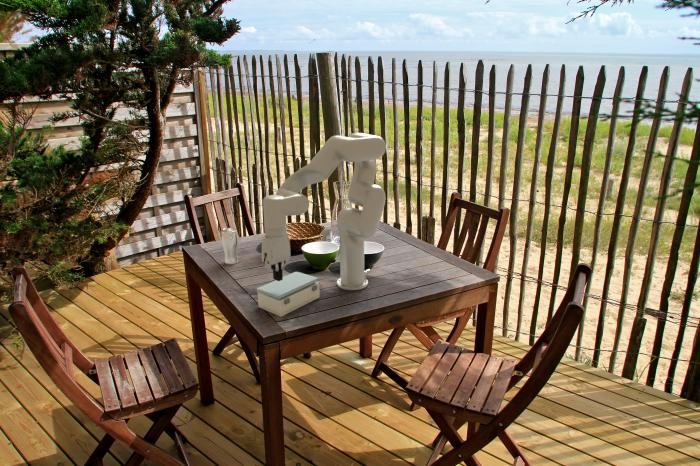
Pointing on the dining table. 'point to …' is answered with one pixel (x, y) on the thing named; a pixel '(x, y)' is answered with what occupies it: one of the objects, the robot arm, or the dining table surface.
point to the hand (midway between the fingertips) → (278, 279)
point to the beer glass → (230, 245)
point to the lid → (287, 285)
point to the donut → (325, 233)
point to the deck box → (289, 300)
